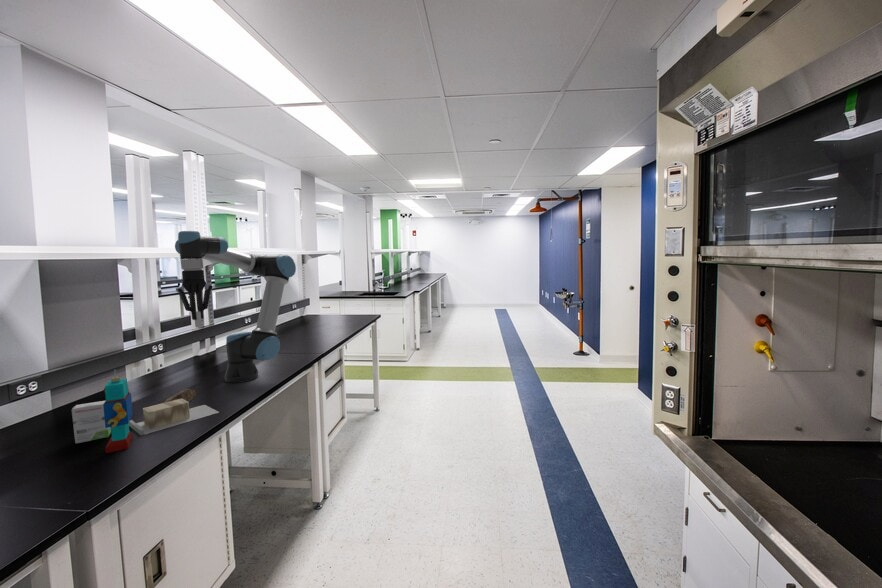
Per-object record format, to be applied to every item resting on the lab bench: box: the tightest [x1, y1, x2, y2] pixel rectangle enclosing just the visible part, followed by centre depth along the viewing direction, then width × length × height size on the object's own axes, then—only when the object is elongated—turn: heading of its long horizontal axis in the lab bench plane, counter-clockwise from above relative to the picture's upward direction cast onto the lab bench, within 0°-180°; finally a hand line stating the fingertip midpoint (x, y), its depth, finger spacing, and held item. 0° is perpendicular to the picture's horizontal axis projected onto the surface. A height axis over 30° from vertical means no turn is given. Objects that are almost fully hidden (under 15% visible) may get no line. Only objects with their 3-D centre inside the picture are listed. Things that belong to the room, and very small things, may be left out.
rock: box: [162, 388, 197, 403], centre depth 164 cm, size 15×10×6 cm
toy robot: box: [103, 369, 134, 454], centre depth 125 cm, size 12×6×25 cm, turn 30°
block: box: [142, 398, 190, 429], centre depth 144 cm, size 6×7×12 cm
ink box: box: [71, 400, 112, 444], centre depth 131 cm, size 9×5×12 cm, turn 121°
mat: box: [129, 404, 220, 436], centre depth 146 cm, size 25×14×2 cm, turn 142°
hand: (198, 327), depth 160 cm, fingers closed
